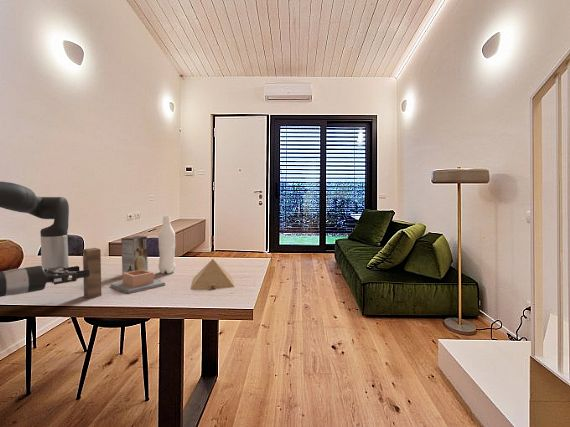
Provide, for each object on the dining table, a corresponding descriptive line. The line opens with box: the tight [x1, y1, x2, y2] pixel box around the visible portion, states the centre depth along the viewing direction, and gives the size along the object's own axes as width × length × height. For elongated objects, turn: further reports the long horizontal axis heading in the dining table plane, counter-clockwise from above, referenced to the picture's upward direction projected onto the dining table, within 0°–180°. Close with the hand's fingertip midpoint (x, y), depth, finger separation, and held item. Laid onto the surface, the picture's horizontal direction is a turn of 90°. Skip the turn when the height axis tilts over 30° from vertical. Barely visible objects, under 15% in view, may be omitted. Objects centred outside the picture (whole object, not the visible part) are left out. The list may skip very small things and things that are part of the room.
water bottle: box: [157, 215, 177, 275], centre depth 145 cm, size 7×7×25 cm
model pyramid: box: [190, 258, 235, 290], centre depth 129 cm, size 17×17×10 cm
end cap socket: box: [110, 269, 166, 294], centre depth 124 cm, size 14×14×5 cm
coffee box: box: [120, 235, 149, 273], centre depth 143 cm, size 9×6×16 cm
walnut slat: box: [82, 247, 102, 299], centre depth 111 cm, size 4×4×16 cm
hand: (83, 270), depth 109 cm, fingers open, 8 cm apart
